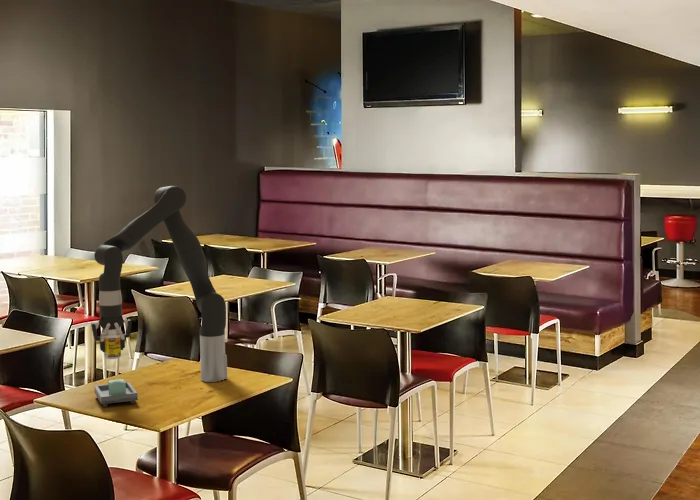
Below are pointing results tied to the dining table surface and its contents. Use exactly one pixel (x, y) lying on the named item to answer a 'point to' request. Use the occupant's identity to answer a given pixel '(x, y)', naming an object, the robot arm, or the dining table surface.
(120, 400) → the tray
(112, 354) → the supplement bottle
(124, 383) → the teal block
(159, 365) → the dining table surface
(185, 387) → the dining table surface
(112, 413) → the dining table surface
